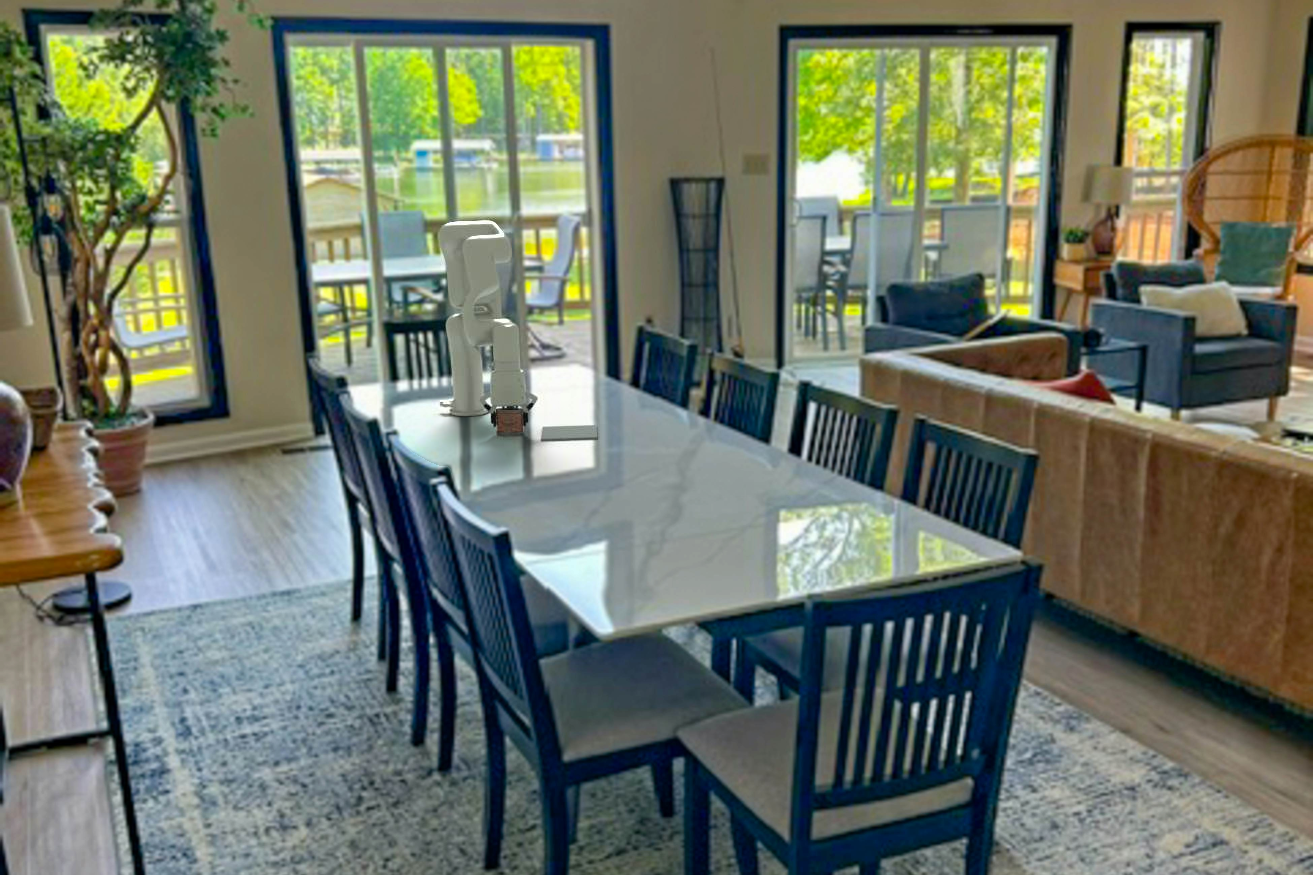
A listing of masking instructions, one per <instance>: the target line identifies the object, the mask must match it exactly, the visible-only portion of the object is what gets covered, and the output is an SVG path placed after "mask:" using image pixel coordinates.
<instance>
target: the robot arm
mask: <svg viewBox="0 0 1313 875" xmlns="http://www.w3.org/2000/svg"><path fill="white" fill-rule="evenodd" d="M438 242H439V248H440V250H441V253H442V255H443V258H444V261H445V266H446V277H447V280H446V281H447V291H448V299H449V304H450V305H451V306H452V307H453V308H454V309H462V312H459V313H454V314H451V315H450V316H448V318H447V319H446V322H445V331H446V334H447V339H448V345H449V351H450V352H449V353H450V363H451V364H450V365H451V378H452V392H453V397H452V398H451V399H449V400H439V407H443V408H450V409H449V410H448V412H449V414H450V415H452V416H458V417H474V416H475V417H476V416H481V415H486V414H488V413H489V414H490V423H491V424H492V426H493V428H497V420H496V412H495V409H497V408H498V407H499V408H502V407H505V408H506V407H507V406H518V407H520V408H522V409H523V412H522V413H523V427H526V426H527V423H529V411H530V410H531V409H532V408H533V407H534V406H535V404H536V403H537V401H538V399H539V398H538V396H537V395H535V394H533V393H532V392H530V391H529V390H527V386H526V381H525V380H526V378H525V375H524V374H525V373H524V370H523V369H521V351H520V349H521V348H520V329H519V326H518V324H516V323H515V322H513V321H511V320H510V319H508V318H503V315H502V300H501V298H502V297H501V289H500V279H499V274H498V271H497V267H496V264H504V263H505V264H506V263H508V262H510V260H512V259H511V258H512V256H513V255H512V254H513V251H512V246H511V242H510V239H509V238H508V236H507V235H506V233H505V232H504V230H502V229H501V227H499V225H498V224H497V223H496V222H495V221H491V220H476V221H472V220H471V221H468V220H467V221H465V220H464V221H454V222H448V223H446V224H443V225H442V226H441V227H440V229H439V232H438ZM474 308H483V309H484V311H483V310H482V311H475V309H474ZM490 346H491V347H492V352H493V356H492V357H493V361H492V362H488V368H492V369H493V370H492V371H491V373H490V384H489V389H490V390H489V391H488V392H487V393H484V376H483V375H484V374H483V359H482V354H481V353H480V352H479V350H478V349H477V348H480V347H490ZM527 398H530V399H531V401H530V403H528V404H527V403H526V402H527ZM488 399H490V404H491V405H490V404H489V403H488V402H487V400H488Z"/></svg>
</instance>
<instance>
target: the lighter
mask: <svg viewBox="0 0 1313 875" xmlns="http://www.w3.org/2000/svg"><path fill="white" fill-rule="evenodd" d="M495 412H496V422H497V425H496V432H495V433H496V435H497V436H507V437H508V436H509V437H510V436H515V437H516V436H523V435H525V431H524V426H523V409H522V408H521V407H519V406H506V407H499V408H498V407H496V409H495Z"/></svg>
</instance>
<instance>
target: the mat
mask: <svg viewBox="0 0 1313 875" xmlns="http://www.w3.org/2000/svg"><path fill="white" fill-rule="evenodd" d="M597 427H598V426H597V424H590V425H589V424H588V425H586V424H585V425H583V424H582V425H562V426H561V425H557V426H555V425H554V426H542V427H541V428H542V429H541V435H540V442H548V441H549V442H551V441H552V442H553V441H554V442H555V441H558V442H559V441H579V440H580V441H581V440H582V441H583V440H584V441H585V440H597V439H598V429H597Z"/></svg>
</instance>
